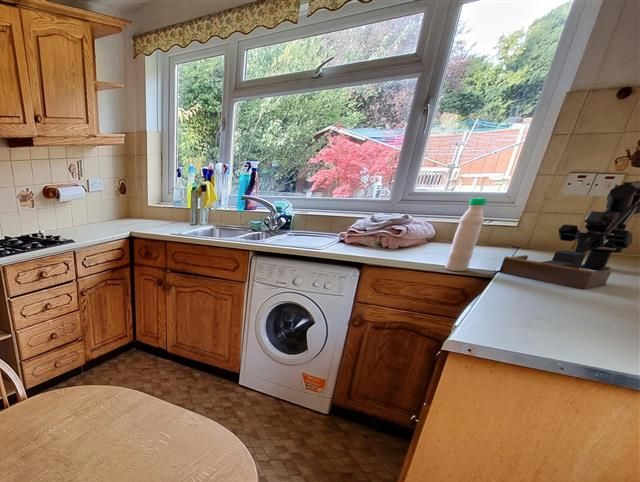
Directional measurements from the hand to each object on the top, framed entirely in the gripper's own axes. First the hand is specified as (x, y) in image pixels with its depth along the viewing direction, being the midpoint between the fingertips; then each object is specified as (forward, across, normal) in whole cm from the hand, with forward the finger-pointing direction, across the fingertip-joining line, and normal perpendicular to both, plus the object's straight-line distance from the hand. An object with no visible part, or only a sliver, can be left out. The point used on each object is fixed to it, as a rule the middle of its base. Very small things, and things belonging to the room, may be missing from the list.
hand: (575, 254), depth 149 cm
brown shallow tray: (+12, 0, -1) cm, 12 cm away
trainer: (+10, 0, 0) cm, 10 cm away
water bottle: (+22, -22, -12) cm, 34 cm away
